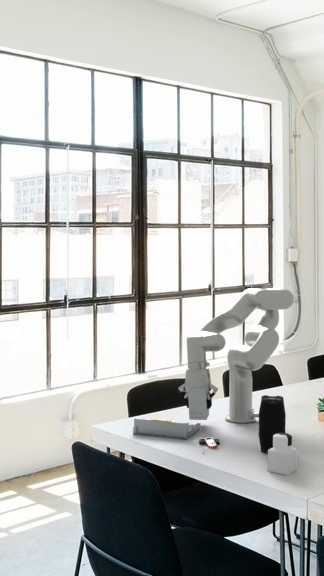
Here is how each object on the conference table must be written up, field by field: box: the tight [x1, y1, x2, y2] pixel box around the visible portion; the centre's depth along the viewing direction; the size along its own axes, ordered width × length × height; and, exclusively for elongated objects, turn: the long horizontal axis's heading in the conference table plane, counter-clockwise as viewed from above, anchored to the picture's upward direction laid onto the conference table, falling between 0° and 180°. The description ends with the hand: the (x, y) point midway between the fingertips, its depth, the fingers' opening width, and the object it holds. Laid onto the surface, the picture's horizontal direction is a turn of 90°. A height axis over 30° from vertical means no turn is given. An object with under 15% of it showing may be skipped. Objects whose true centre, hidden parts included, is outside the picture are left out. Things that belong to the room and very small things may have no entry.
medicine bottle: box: [267, 432, 298, 476], centre depth 228 cm, size 7×7×12 cm
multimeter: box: [198, 436, 220, 455], centre depth 254 cm, size 18×12×3 cm, turn 172°
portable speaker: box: [258, 395, 287, 454], centre depth 249 cm, size 9×9×20 cm
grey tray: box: [132, 417, 201, 441], centre depth 276 cm, size 22×16×6 cm
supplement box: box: [188, 388, 210, 421], centre depth 287 cm, size 7×7×13 cm
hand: (198, 407), depth 287 cm, fingers closed on supplement box, 8 cm apart
